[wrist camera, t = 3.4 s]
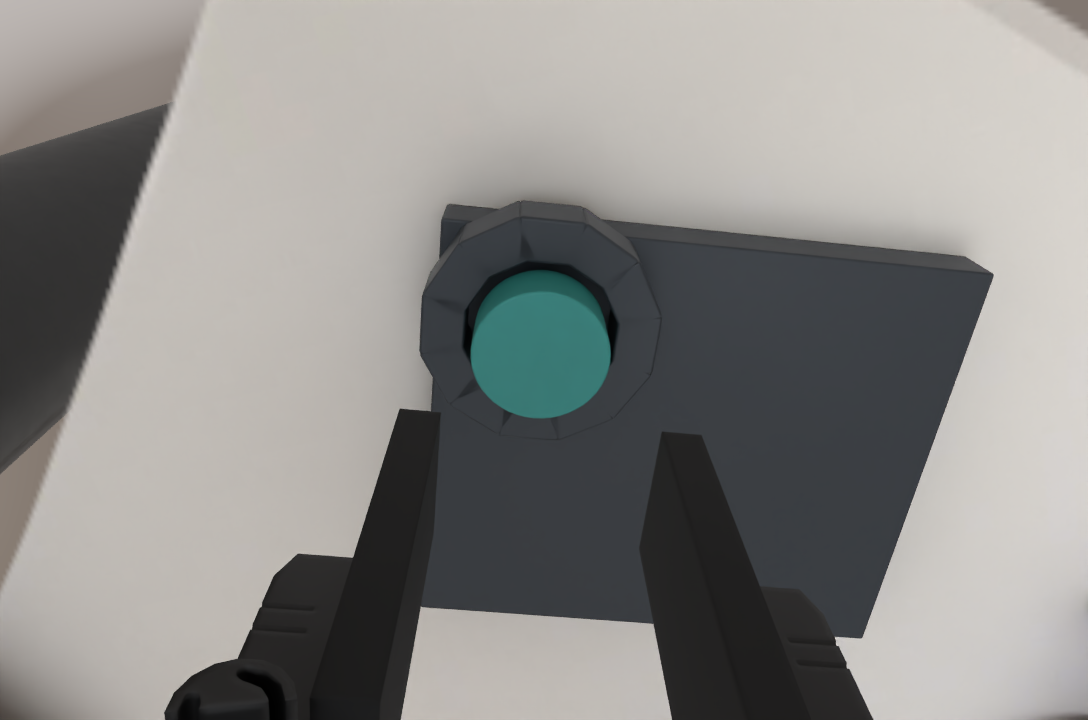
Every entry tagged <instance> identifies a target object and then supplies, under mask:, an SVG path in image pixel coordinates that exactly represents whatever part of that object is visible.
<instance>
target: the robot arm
mask: <svg viewBox="0 0 1088 720" xmlns="http://www.w3.org/2000/svg"><path fill="white" fill-rule="evenodd" d="M440 421H441V412H431V411H419V410H408V409H399V413H398V416H397V419H396V422H395V425H394V429H393V432H392V435H391V438H390V441H389V445H388V448H387V451H386V454H385V457H384V461H383V464H382V467H381V470H380V473H379V477H378V480H377V483H376V486H375V489H374V493H373V496H372V499H371V502H370V506H369V509H368V512H367V515H366V518H365V522H364V525H363V528H362V531H361V534H360V538H359V541H358V544H357V547H356V550H355V554H354V557H353V558H347V557H334V556H321V555H307V554H297V555H296V556H295V557H294V558H293V559H292V560H291V561H289V562H288V563H287V564H286V565H285V566H284V567H283V568H282V569H281V570H280V571H279V572H277V573H276V574H275V575H274V577H273V579H272V581H271V584H270V586H269V588H268V590H267V593H266V595H265V597H264V600H263V602H262V607H260V609H259V611H258V613H257V616H256V618H255V620H254V622H253V627H252V630H250V632H249V634H248V636H247V638H246V641H245V643H244V645H243V648H242V650H241V652H240V654H239V657H238V659H235V660H230V661H226V662H221V663H217V664H214V665H212V666H210V667H208V668H206V669H204V670H202V671H200V672H198V673H196V674H194V675H193V676H191V677H190V678H189V679H188V680H187V681H186V682H185V683H184V684H183V685H182V686H181V687H180V688H179V689H178V690H177V691H175V692H174V694H173V696H172V698H171V700H170V702H169V704H168V706H167V708H166V710H165V712H164V714H165V720H401V714H402V708H403V703H404V697H405V692H406V686H407V680H408V675H409V669H410V663H411V658H412V652H413V647H414V641H415V635H416V630H417V624H418V618H419V613H420V607H421V602H422V596H423V590H424V585H425V579H426V574H427V568H428V562H429V557H430V551H431V545H432V540H433V534H434V521H435V504H436V488H437V471H438V454H439V438H440ZM639 551H640V556H641V562H642V567H643V572H644V577H645V582H646V587H647V592H648V598H649V603H650V608H651V613H652V618H653V623H654V628H655V633H656V639H657V644H658V649H659V654H660V659H661V664H662V669H663V675H664V680H665V685H666V690H667V695H668V700H669V705H670V710H671V716H672V720H873V718H872V716H871V714H870V712H869V710H868V708H867V706H866V704H865V701H864V699H863V697H862V695H861V693H860V691H859V689H858V686H857V684H856V682H855V680H854V678H853V676H852V674H851V672H850V669H847V667H846V661H845V659H844V657H843V655H842V652H841V650H840V648H839V646H836V640H835V638H834V635H833V633H832V631H831V629H830V627H829V625H828V623H827V621H826V618H825V616H824V614H823V613H822V612H821V611H820V610H819V609H818V608H817V607H816V606H815V605H814V604H813V603H812V602H811V601H810V600H809V599H808V598H807V597H806V596H805V595H804V593H803V592H802V591H801V590H800V589H789V588H776V587H763V586H760V585H759V583H758V580H757V577H756V575H755V572H754V570H753V567H752V564H751V562H750V559H749V557H748V554H747V551H746V549H745V546H744V544H743V541H742V538H741V536H740V533H739V531H738V528H737V526H736V523H735V520H734V518H733V515H732V513H731V510H730V507H729V505H728V502H727V500H726V497H725V494H724V492H723V489H722V487H721V484H720V481H719V479H718V476H717V474H716V471H715V468H714V466H713V463H712V461H711V458H710V455H709V453H708V450H707V448H706V445H705V443H704V440H703V437H702V435H697V434H686V433H674V432H663V431H662V433H661V438H660V443H659V448H658V453H657V458H656V464H655V469H654V474H653V479H652V484H651V489H650V494H649V499H648V505H647V510H646V515H645V520H644V525H643V530H642V535H641V540H640V545H639Z"/></svg>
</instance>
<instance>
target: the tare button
mask: <svg viewBox="0 0 1088 720" xmlns="http://www.w3.org/2000/svg"><path fill="white" fill-rule="evenodd" d="M610 359H611V349H610V343H609V338H608V333H607V329H606V324H605V320H604V316H603V313H602V310H601V307H600V305H599V303H598V301H597V300H596V298H595V297H594V296H593V294H592V293H591V292H590V291H589V290H588V289H587V288H586V287H585V286H584V285H583V284H581V283H580V282H579V281H577V280H575V279H574V278H572V277H570V276H567V275H565V274H562V273H559V272H555V271H549V270H532V271H526V272H522V273H518V274H516V275H513V276H511V277H509V278H507V279H505V280H503V281H502V282H500V283H499V284H498V285H496V286H495V287H494V288H493V289H492V290H491V291H490V292H489V293H488V295H487V296H486V297H485V299H484V300H483V302H482V303H481V306H480V308H479V310H478V313H477V316H476V320H475V326H474V333H473V339H472V345H471V365H472V370H473V373H474V376H475V378H476V380H477V383H478V384H479V386H480V387H481V389H482V390H483V392H484V393H485V394H486V395H487V396H488V397H489V398H490V399H491V400H492V401H493V402H494V403H495V404H497V405H498V406H500V407H501V408H503V409H505V410H507V411H508V412H511V413H513V414H516V415H519V416H523V417H528V418H542V419H543V418H553V417H557V416H561V415H564V414H568V413H570V412H572V411H574V410H576V409H578V408H579V407H581V406H583V405H584V404H585V403H587V402H588V401H589V400H590V399H591V398H592V397H593V396H594V395H595V394H596V393H597V391H598V390H599V389H600V387H601V386H602V384H603V382H604V381H605V379H606V376H607V373H608V370H609V366H610Z"/></svg>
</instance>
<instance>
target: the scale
mask: <svg viewBox="0 0 1088 720" xmlns="http://www.w3.org/2000/svg"><path fill="white" fill-rule="evenodd" d="M532 270H549V271H555V272H559V273H562V274H565V275H567V276H570V277H572V278H574V279H575V280H577V281H579V282H580V283H581V284H583V285H584V286H585V287H586V288H587V289H588V290H589V291H590V292H591V293H592V294H593V296H594V297H595V298H596V300H597V301H598V303H599V305H600V307H601V310H602V313H603V316H604V320H605V324H606V329H607V333H608V338H609V343H610V349H611V359H610V366H609V370H608V373H607V376H606V379H605V381H604V382H603V384H602V386H601V387H600V389H599V390H598V391H597V393H596V394H595V395H594V396H593V397H592V398H591V399H590V400H589V401H588V402H587V403H585V404H584V405H583V406H581V407H579V408H578V409H576V410H574V411H572V412H570V413H568V414H564V415H561V416H557V417H553V418H543V419H542V418H528V417H523V416H519V415H516V414H513V413H511V412H508V411H507V410H505V409H503V408H501V407H500V406H498V405H497V404H495V403H494V402H493V401H492V400H491V399H490V398H489V397H488V396H487V395H486V394H485V393H484V392H483V390H482V389H481V387H480V386H479V384H478V383H477V380H476V378H475V376H474V373H473V370H472V365H471V345H472V339H473V333H474V326H475V320H476V316H477V313H478V310H479V308H480V306H481V303H482V302H483V300H484V299H485V297H486V296H487V295H488V293H489V292H490V291H491V290H492V289H493V288H494V287H495V286H496V285H498V284H499V283H500V282H502V281H503V280H505V279H507V278H509V277H511V276H513V275H516V274H518V273H522V272H526V271H532ZM993 276H994V275H993V273H991V272H989V271H988V270H986V269H984V268H983V267H981V266H980V265H978V264H976V263H975V262H973V261H971V260H970V259H968V258H967V257H963V256H953V255H944V254H934V253H924V252H914V251H904V250H894V249H885V248H875V247H865V246H855V245H845V244H835V243H826V242H816V241H806V240H796V239H786V238H776V237H767V236H757V235H747V234H737V233H727V232H718V231H708V230H698V229H688V228H678V227H668V226H659V225H649V224H639V223H629V222H619V221H609V220H601V219H600V218H598V217H597V216H596V215H594V214H593V213H591V212H590V211H589V210H587V209H586V208H583V209H582V207H580V206H572V205H562V204H553V203H543V202H533V201H521V202H520V201H517V202H515V203H513V204H510V205H508V206H506V207H504V208H501V209H492V208H482V207H472V206H462V205H452V204H449V205H447V207H446V210H445V212H444V215H443V217H442V220H441V237H440V255H439V260H438V262H437V263H436V265H435V266H434V268H433V269H432V270H431V272H430V275H429V277H428V280H427V283H426V286H425V289H424V292H423V295H422V305H421V327H420V349H419V351H420V355H421V357H422V359H423V361H424V363H425V364H426V366H427V368H428V370H429V371H430V373H431V375H432V377H433V384H432V403H431V412H441V421H440V438H439V454H438V471H437V488H436V504H435V521H434V534H433V540H432V545H431V551H430V557H429V562H428V568H427V574H426V579H425V585H424V590H423V596H422V602H421V607H429V608H443V609H457V610H471V611H485V612H499V613H513V614H527V615H541V616H555V617H569V618H583V619H597V620H610V621H624V622H638V623H652V624H654V623H653V618H652V613H651V608H650V603H649V598H648V592H647V587H646V582H645V577H644V572H643V567H642V562H641V556H640V551H639V545H640V540H641V535H642V530H643V525H644V520H645V515H646V510H647V505H648V499H649V494H650V489H651V484H652V479H653V474H654V469H655V464H656V458H657V453H658V448H659V443H660V438H661V433H662V431H663V432H674V433H686V434H697V435H702V437H703V440H704V443H705V445H706V448H707V450H708V453H709V455H710V458H711V461H712V463H713V466H714V468H715V471H716V474H717V476H718V479H719V481H720V484H721V487H722V489H723V492H724V494H725V497H726V500H727V502H728V505H729V507H730V510H731V513H732V515H733V518H734V520H735V523H736V526H737V528H738V531H739V533H740V536H741V538H742V541H743V544H744V546H745V549H746V551H747V554H748V557H749V559H750V562H751V564H752V567H753V570H754V572H755V575H756V577H757V580H758V583H759V585H760V586H763V587H776V588H789V589H800V590H801V591H802V592H803V593H804V595H805V596H806V597H807V598H808V599H809V600H810V601H811V602H812V603H813V604H814V605H815V606H816V607H817V608H818V609H819V610H820V611H821V612H822V613H823V614H824V616H825V618H826V621H827V623H828V625H829V627H830V629H831V631H832V633H833V635H834V637H848V638H862V637H863V634H864V631H865V629H866V626H867V623H868V620H869V618H870V615H871V612H872V609H873V607H874V604H875V601H876V598H877V596H878V593H879V590H880V587H881V585H882V582H883V579H884V576H885V574H886V571H887V568H888V565H889V563H890V560H891V557H892V554H893V552H894V549H895V546H896V543H897V541H898V538H899V535H900V532H901V530H902V527H903V524H904V521H905V519H906V516H907V513H908V510H909V508H910V505H911V502H912V499H913V497H914V494H915V491H916V488H917V486H918V483H919V480H920V477H921V475H922V472H923V469H924V466H925V464H926V461H927V458H928V455H929V453H930V450H931V447H932V444H933V442H934V439H935V436H936V433H937V430H938V428H939V425H940V422H941V419H942V417H943V414H944V411H945V408H946V406H947V403H948V400H949V397H950V395H951V392H952V389H953V386H954V384H955V381H956V378H957V375H958V373H959V370H960V367H961V364H962V362H963V359H964V356H965V353H966V351H967V348H968V345H969V342H970V340H971V337H972V334H973V331H974V329H975V326H976V323H977V320H978V318H979V315H980V312H981V309H982V307H983V304H984V301H985V298H986V296H987V293H988V290H989V287H990V285H991V282H992V279H993Z"/></svg>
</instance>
